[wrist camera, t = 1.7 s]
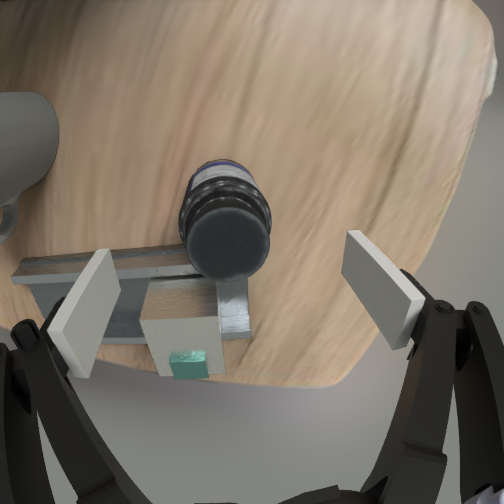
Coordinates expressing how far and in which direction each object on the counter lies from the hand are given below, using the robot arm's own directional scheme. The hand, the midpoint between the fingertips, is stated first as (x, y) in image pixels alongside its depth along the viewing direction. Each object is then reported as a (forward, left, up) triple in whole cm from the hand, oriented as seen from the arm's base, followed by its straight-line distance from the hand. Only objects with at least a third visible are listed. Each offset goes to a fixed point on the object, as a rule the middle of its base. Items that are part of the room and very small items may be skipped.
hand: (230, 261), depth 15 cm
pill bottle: (0, 0, -12) cm, 12 cm away
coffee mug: (-7, -21, -12) cm, 25 cm away
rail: (+10, -11, -12) cm, 19 cm away
